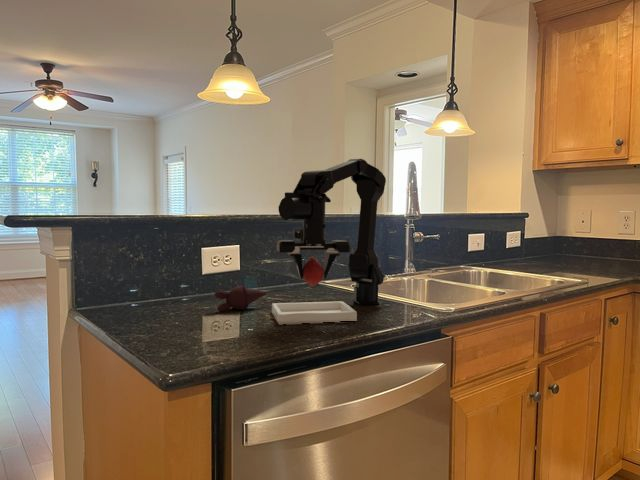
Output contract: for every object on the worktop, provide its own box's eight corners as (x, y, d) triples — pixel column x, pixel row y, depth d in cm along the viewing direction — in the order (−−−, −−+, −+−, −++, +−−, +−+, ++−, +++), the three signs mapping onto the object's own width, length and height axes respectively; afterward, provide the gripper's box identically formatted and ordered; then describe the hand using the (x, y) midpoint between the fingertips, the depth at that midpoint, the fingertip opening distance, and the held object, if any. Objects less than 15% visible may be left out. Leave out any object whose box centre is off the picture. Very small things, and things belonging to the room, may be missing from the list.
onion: (326, 285, 126) (327, 255, 126) (319, 289, 121) (320, 258, 120) (306, 283, 128) (306, 254, 128) (298, 287, 123) (298, 256, 122)
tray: (342, 310, 133) (342, 301, 133) (356, 321, 121) (356, 312, 120) (271, 312, 129) (272, 303, 128) (278, 324, 116) (279, 314, 116)
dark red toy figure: (259, 282, 139) (210, 290, 132) (269, 279, 133) (218, 288, 125) (263, 305, 139) (214, 315, 131) (273, 304, 132) (222, 314, 125)
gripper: (340, 218, 133) (339, 273, 134) (274, 218, 129) (273, 274, 130) (351, 220, 122) (350, 280, 123) (280, 219, 118) (279, 281, 119)
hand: (312, 278), depth 124 cm, fingers closed on onion, 6 cm apart
